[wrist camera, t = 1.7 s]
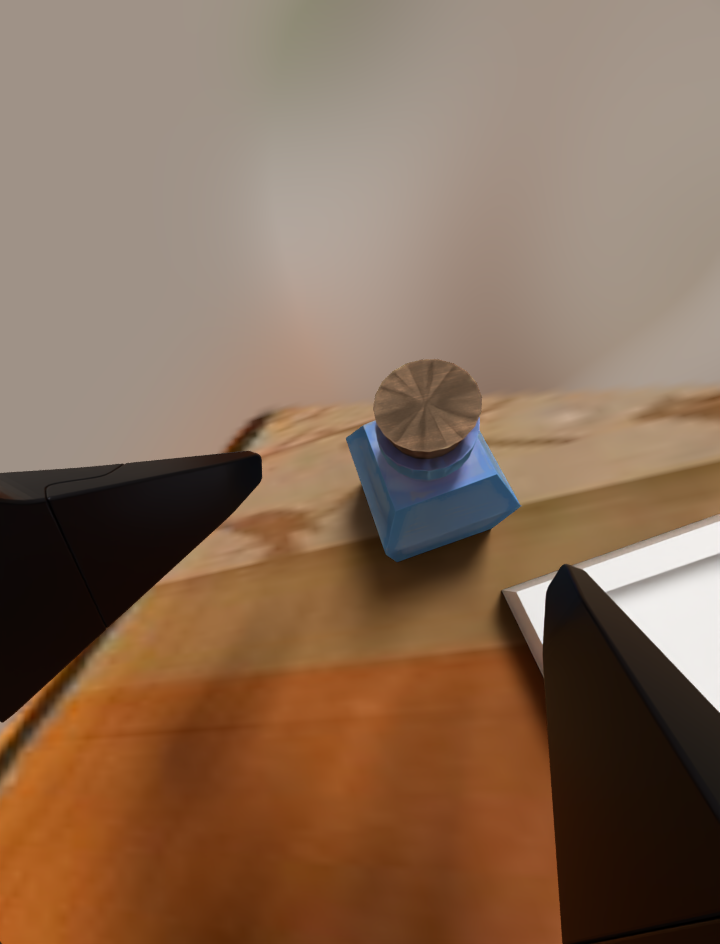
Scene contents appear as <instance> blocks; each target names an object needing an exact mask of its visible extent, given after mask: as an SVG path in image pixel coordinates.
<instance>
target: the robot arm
mask: <svg viewBox="0 0 720 944" xmlns="http://www.w3.org/2000/svg"><path fill="white" fill-rule="evenodd" d="M261 479H262V459H261V456H260V455H259V454H257V453H254V452H251V451H242V452H232V453H222V454H212V455H203V456H193V457H183V458H174V459H163V460H154V461H144V462H134V463H126V464H115V465H104V466H94V467H83V468H82V467H81V468H68V469H55V470H40V471H24V472H9V473H0V722H4V721H6V720H7V719H8V718H10V717H11V716H12V715H13V714H14V713H16V712H17V711H18V710H19V709H20V708H21V707H22V706H23V705H24V704H25V703H27V702H28V701H29V700H30V699H31V698H32V697H33V696H34V695H35V694H36V693H37V692H39V691H40V690H41V689H42V688H43V687H44V686H45V685H46V684H47V683H48V682H50V681H51V680H52V679H53V678H54V677H55V676H56V675H57V674H58V673H59V672H60V671H62V670H63V669H64V668H65V667H66V666H67V665H68V664H69V663H70V662H71V661H72V660H74V659H75V658H76V657H77V656H78V655H79V654H80V653H81V652H82V651H83V650H84V649H86V648H87V647H88V646H89V645H90V644H91V643H92V642H93V641H94V640H95V639H96V638H98V637H99V636H100V635H101V634H102V633H103V632H104V631H105V630H106V628H108V627H109V626H110V625H111V624H112V623H114V622H115V621H116V620H117V619H118V618H119V617H120V616H121V615H122V614H123V613H125V612H126V611H127V610H128V609H129V608H130V607H131V606H132V605H133V604H134V603H135V602H137V601H138V600H139V599H140V598H141V597H142V596H143V595H144V594H145V593H146V592H147V591H149V590H150V589H151V588H152V587H153V586H154V585H155V584H156V583H157V582H158V581H160V580H161V579H162V578H163V577H164V576H165V575H166V574H167V573H168V572H169V571H170V570H172V569H173V568H174V567H175V566H176V565H177V564H178V563H179V562H180V561H181V560H182V559H184V558H185V557H186V556H187V555H188V554H189V553H190V552H191V551H192V550H193V549H194V548H196V547H197V546H198V545H199V544H200V543H201V542H202V541H203V540H204V539H205V538H207V537H208V536H209V535H210V534H211V533H212V532H213V531H214V530H215V529H216V528H217V527H219V526H220V525H221V524H222V523H223V522H224V521H225V520H226V519H227V518H228V517H229V516H230V515H231V514H232V513H233V512H234V511H235V510H236V509H237V508H238V507H239V506H240V505H241V503H242V502H243V501H244V500H245V499H246V498H247V497H248V496H249V495H250V493H251V492H252V491H253V490H254V489H255V488H256V487H257V486H258V484H259V483H260V482H261ZM542 654H543V672H544V687H545V701H546V715H547V730H548V744H549V758H550V773H551V787H552V801H553V815H554V830H555V844H556V858H557V873H558V887H559V901H560V916H561V930H562V943H563V944H720V712H719V711H718V710H717V709H716V708H715V707H714V706H713V705H712V704H711V703H710V702H709V701H708V700H707V699H706V698H705V697H704V696H703V694H702V693H701V692H700V691H699V690H698V689H697V688H696V687H695V686H694V685H693V684H692V683H691V682H690V681H689V680H688V679H687V678H686V677H685V676H684V674H683V673H682V672H681V671H680V670H679V669H678V668H677V667H676V666H675V665H674V664H673V663H672V662H671V661H670V660H669V659H668V658H667V657H666V656H665V654H664V653H663V652H662V651H661V650H660V649H659V648H658V647H657V646H656V645H655V644H654V643H653V642H652V641H651V640H650V639H649V638H648V637H647V636H646V634H645V633H644V632H643V631H642V630H641V629H640V628H639V627H638V626H637V625H636V624H635V623H634V622H633V621H632V620H631V619H630V618H629V617H628V616H627V614H626V613H625V612H624V611H623V610H622V609H621V608H620V607H619V606H618V605H617V604H616V603H615V602H614V601H613V600H612V599H611V598H610V597H609V596H608V594H607V593H606V592H605V591H604V590H603V589H602V588H601V587H600V586H599V585H598V584H597V583H596V582H595V581H594V580H593V579H592V578H591V577H590V576H589V575H588V573H587V572H586V571H584V570H583V569H580V568H577V567H574V566H571V565H569V564H564V565H562V566H561V567H560V569H559V570H558V572H557V573H556V575H555V577H554V578H553V580H552V581H551V583H550V584H549V586H548V588H547V591H546V598H545V614H544V631H543V652H542ZM0 944H1V942H0Z"/></svg>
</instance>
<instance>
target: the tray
mask: <svg viewBox="0 0 720 944" xmlns="http://www.w3.org/2000/svg"><path fill="white" fill-rule="evenodd" d="M572 566H574V567H577V568H580V569H583V570H584V571H586V572H587V573H588V575H589V576H590V577H591V578H592V579H593V580H594V581H595V582H596V583H597V584H598V585H599V586H600V587H601V588H602V589H603V590H604V591H605V592H606V593H607V594H608V596H609V597H610V598H611V599H612V600H613V601H614V602H615V603H616V604H617V605H618V606H619V607H620V608H621V609H622V610H623V611H624V612H625V613H626V614H627V616H628V617H629V618H630V619H631V620H632V621H633V622H634V623H635V624H636V625H637V626H638V627H639V628H640V629H641V630H642V631H643V632H644V633H645V634H646V636H647V637H648V638H649V639H650V640H651V641H652V642H653V643H654V644H655V645H656V646H657V647H658V648H659V649H660V650H661V651H662V652H663V653H664V654H665V656H666V657H667V658H668V659H669V660H670V661H671V662H672V663H673V664H674V665H675V666H676V667H677V668H678V669H679V670H680V671H681V672H682V673H683V674H684V676H685V677H686V678H687V679H688V680H689V681H690V682H691V683H692V684H693V685H694V686H695V687H696V688H697V689H698V690H699V691H700V692H701V693H702V694H703V696H704V697H705V698H706V699H707V700H708V701H709V702H710V703H711V704H712V705H713V706H714V707H715V708H716V709H717V710H718V711H719V712H720V514H718V515H715V516H712V517H709V518H706V519H703V520H701V521H698V522H695V523H692V524H689V525H686V526H683V527H681V528H678V529H675V530H672V531H669V532H666V533H663V534H661V535H658V536H655V537H652V538H649V539H646V540H644V541H641V542H638V543H635V544H632V545H629V546H626V547H624V548H621V549H618V550H615V551H612V552H609V553H606V554H604V555H601V556H598V557H595V558H592V559H589V560H586V561H584V562H581V563H578V564H575V565H572ZM557 572H558V571H555V572H552V573H549V574H546V575H544V576H541V577H538V578H535V579H532V580H529V581H526V582H524V583H521V584H518V585H515V586H512V587H509V588H507V589H504V590H502V592H503V594H504V596H505V598H506V600H507V603H508V605H509V607H510V609H511V611H512V613H513V615H514V617H515V619H516V621H517V623H518V625H519V628H520V630H521V632H522V634H523V636H524V638H525V640H526V642H527V644H528V646H529V648H530V650H531V653H532V655H533V657H534V659H535V661H536V663H537V665H538V667H539V669H540V671H541V673H542V675H543V678H544V672H543V654H542V652H543V631H544V614H545V598H546V591H547V588H548V586H549V584H550V583H551V581H552V580H553V578H554V577H555V575H556V573H557Z"/></svg>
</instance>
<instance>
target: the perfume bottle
mask: <svg viewBox="0 0 720 944" xmlns="http://www.w3.org/2000/svg"><path fill="white" fill-rule="evenodd" d="M481 405H482V396H481V393H480V391H479V388H478V385H477V383H476V382H475V381H474V379H473V378H472V377H471V376H470V375H469V373H468V372H467V371H465V370H464V369H462V368H460V367H458V366H457V365H455V364H454V363H450V362H446V361H442V360H436V359H434V360H419V361H415V362H411V363H407V364H405V365H403V366H401V367H400V368H398V369H396V370H394V371H393V372H392V373H391V374H390V375H389V376H388V377H387V378H386V379H385V380H384V381H383V382H382V383H381V385H380V387H379V389H378V391H377V393H376V395H375V401H374V407H373V410H374V414H375V419H376V421H373V422H371V423H368V424H365V425H363V426H362V427H360V428H359V429H358V430H356V431H355V432H354V433H352V434H351V435H350V436H348V437H347V438H346V440H347V443H348V446H349V449H350V452H351V455H352V458H353V461H354V464H355V467H356V470H357V472H358V475H359V478H360V481H361V484H362V487H363V490H364V493H365V496H366V499H367V502H368V504H369V507H370V510H371V513H372V516H373V519H374V522H375V525H376V528H377V531H378V534H379V536H380V539H381V542H382V545H383V548H384V551H385V554H386V555H387V556H389V557H390V558H392V559H393V560H395V561H396V562H399V561H402V560H405V559H407V558H410V557H413V556H416V555H419V554H421V553H424V552H427V551H430V550H433V549H436V548H438V547H441V546H444V545H447V544H450V543H453V542H455V541H458V540H461V539H464V538H467V537H469V536H472V535H475V534H478V533H481V532H484V531H486V530H489V529H492V528H493V527H494V526H496V525H497V524H498V523H500V522H501V521H502V520H504V519H505V518H506V517H507V516H509V515H510V514H511V513H513V512H514V511H515V510H517V509H518V508H519V507H521V505H520V503H519V502H518V500H517V498H516V496H515V494H514V493H513V491H512V489H511V487H510V485H509V483H508V482H507V480H506V478H505V476H504V474H503V473H502V471H501V469H500V467H499V465H498V463H497V462H496V460H495V458H494V456H493V454H492V453H491V451H490V449H489V447H488V445H487V443H486V442H485V440H484V438H483V436H482V434H481V433H480V431H479V424H480V417H479V416H480V414H481Z"/></svg>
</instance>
